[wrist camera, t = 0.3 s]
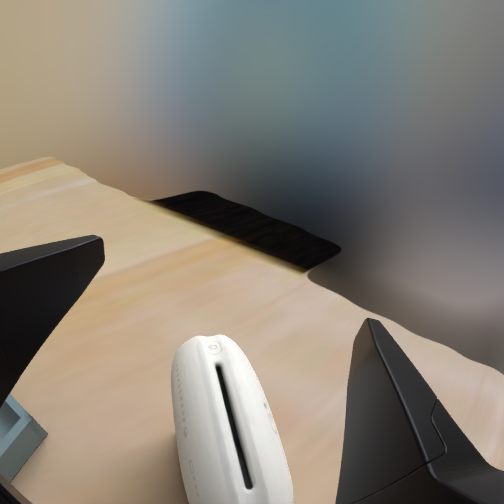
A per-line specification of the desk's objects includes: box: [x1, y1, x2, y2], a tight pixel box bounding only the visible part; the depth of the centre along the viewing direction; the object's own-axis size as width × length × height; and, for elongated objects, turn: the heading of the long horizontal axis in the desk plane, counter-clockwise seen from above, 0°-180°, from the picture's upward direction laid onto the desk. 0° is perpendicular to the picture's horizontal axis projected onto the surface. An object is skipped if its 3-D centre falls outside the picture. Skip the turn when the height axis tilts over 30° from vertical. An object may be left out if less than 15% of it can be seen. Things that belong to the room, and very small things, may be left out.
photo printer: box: [171, 335, 293, 504], centre depth 12 cm, size 10×4×12 cm, turn 15°
